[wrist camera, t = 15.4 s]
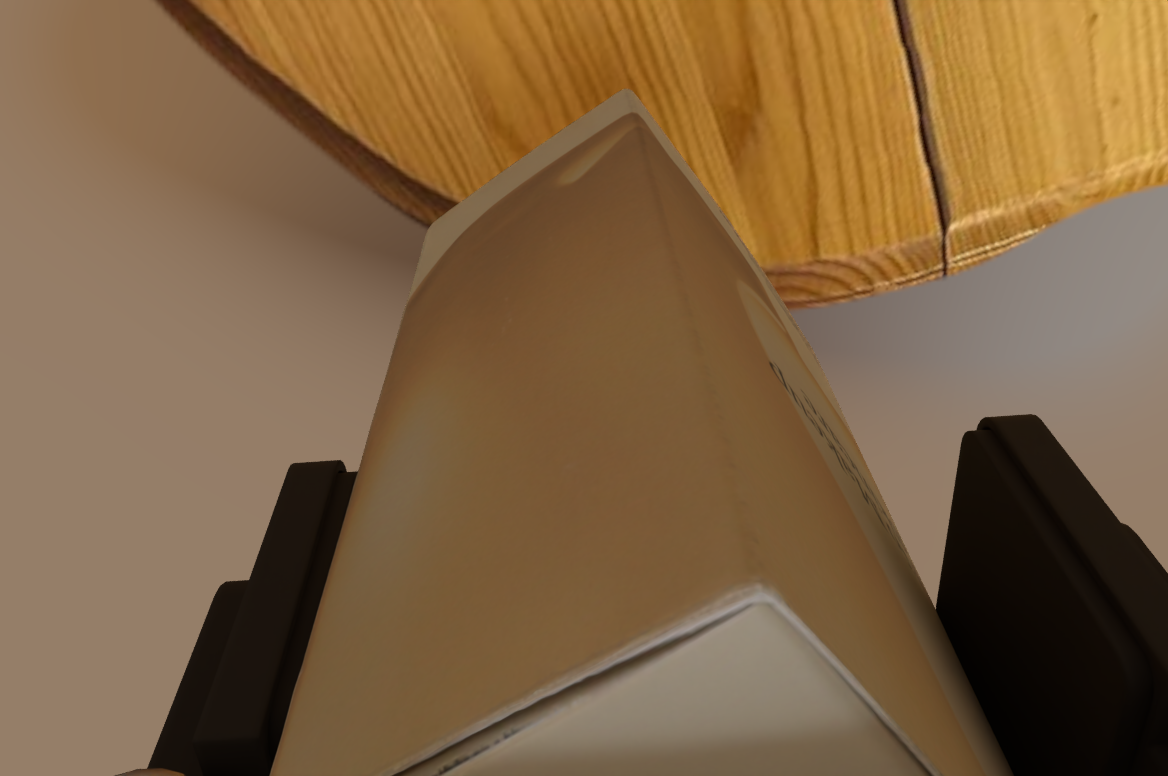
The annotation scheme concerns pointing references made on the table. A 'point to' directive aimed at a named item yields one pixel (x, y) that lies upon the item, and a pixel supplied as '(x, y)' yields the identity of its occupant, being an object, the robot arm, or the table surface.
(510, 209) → the cosmetic box
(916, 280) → the table surface
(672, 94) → the table surface
